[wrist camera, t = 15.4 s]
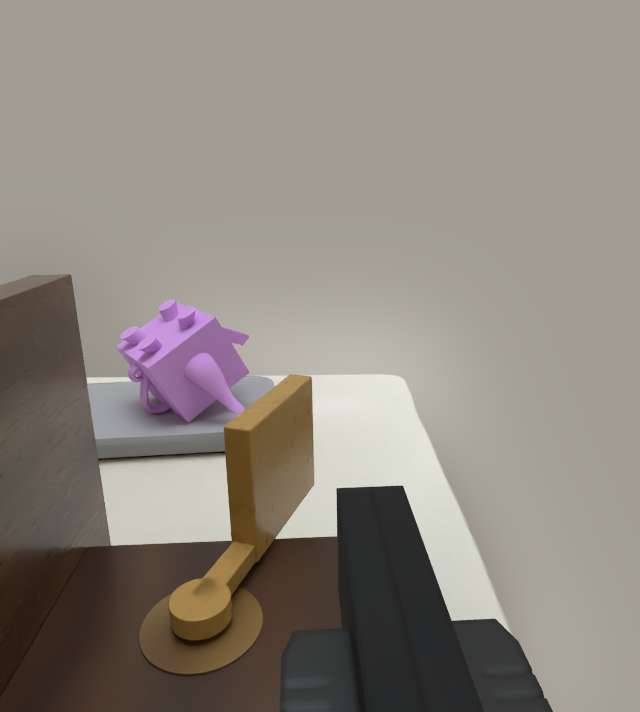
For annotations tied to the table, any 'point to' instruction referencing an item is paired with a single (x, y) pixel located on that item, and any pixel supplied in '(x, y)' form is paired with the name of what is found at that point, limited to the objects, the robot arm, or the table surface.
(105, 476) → the table surface
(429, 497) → the table surface
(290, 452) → the lever
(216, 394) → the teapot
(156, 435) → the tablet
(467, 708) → the robot arm
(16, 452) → the case
